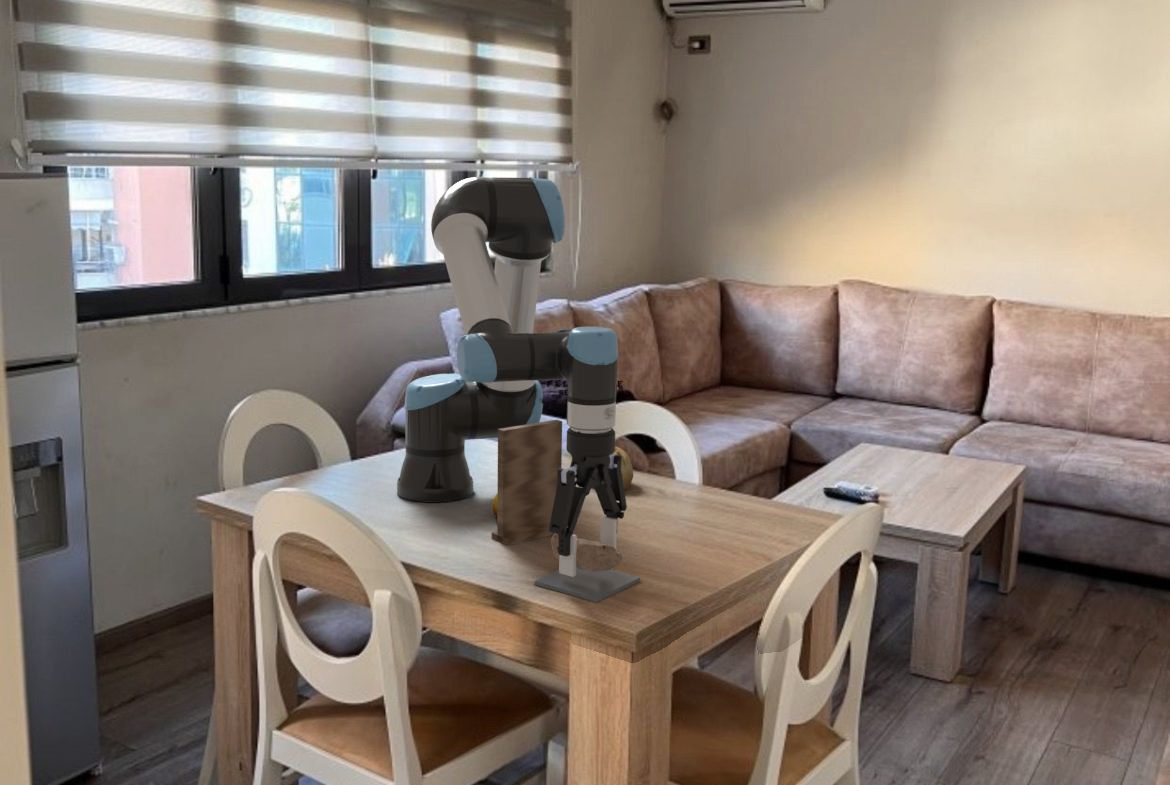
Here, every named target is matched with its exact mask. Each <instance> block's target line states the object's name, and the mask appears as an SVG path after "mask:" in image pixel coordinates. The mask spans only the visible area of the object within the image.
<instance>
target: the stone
mask: <svg viewBox="0 0 1170 785" xmlns="http://www.w3.org/2000/svg"><path fill="white" fill-rule="evenodd" d="M551 536H552V537H551V538H550V544H551V549H552V552H553V556H554V557H555V558H557V559H558V560H559V553H558V549H559V548H558V546H559V545H558V543H559V536H558V534H556V533H554V534H553V535H551ZM622 559H623V553H622V551H621V552H619V551H617V548H616V549H615V548H614V547H613V546H612V545H608V544H603V543H600V541H594V540H593V541H591V540H587V539H585V538H580V537H577V549H576V568H578V569H582V570H585V571H590V572H596V571H600V570H601V571H607V570H610V569H611V570H613V569H615V568H616V567H618V566H619V564H620V563H621V562H622Z"/></svg>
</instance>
